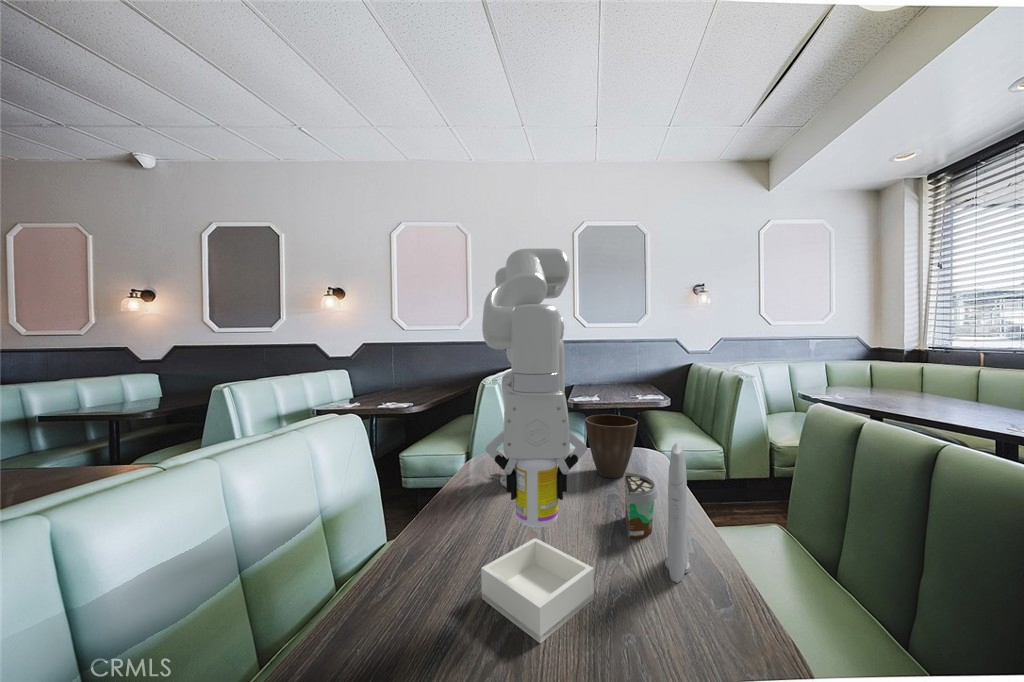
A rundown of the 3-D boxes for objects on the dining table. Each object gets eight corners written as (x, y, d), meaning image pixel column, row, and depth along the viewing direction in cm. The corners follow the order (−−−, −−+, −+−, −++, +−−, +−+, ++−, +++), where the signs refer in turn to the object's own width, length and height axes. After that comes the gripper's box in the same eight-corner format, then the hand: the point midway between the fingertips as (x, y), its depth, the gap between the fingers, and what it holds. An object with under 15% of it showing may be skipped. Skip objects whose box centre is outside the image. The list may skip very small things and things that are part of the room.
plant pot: (620, 462, 125) (620, 413, 124) (648, 480, 110) (648, 423, 110) (577, 467, 121) (576, 416, 120) (600, 486, 106) (600, 428, 106)
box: (481, 598, 62) (481, 567, 62) (535, 564, 71) (535, 537, 71) (540, 643, 53) (539, 607, 53) (593, 598, 62) (593, 568, 62)
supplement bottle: (561, 512, 64) (561, 434, 63) (552, 532, 58) (552, 445, 57) (522, 506, 66) (522, 431, 66) (509, 525, 60) (509, 441, 59)
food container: (662, 545, 77) (662, 495, 77) (630, 542, 78) (630, 493, 78) (653, 516, 89) (652, 473, 89) (625, 514, 90) (624, 471, 90)
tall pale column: (668, 549, 76) (668, 436, 75) (691, 554, 74) (691, 439, 73) (661, 580, 66) (661, 452, 66) (688, 587, 64) (688, 455, 64)
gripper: (477, 387, 58) (479, 507, 58) (595, 386, 57) (596, 507, 58) (482, 381, 65) (484, 486, 66) (587, 380, 65) (587, 486, 65)
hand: (536, 495), depth 62 cm, fingers closed on supplement bottle, 6 cm apart
